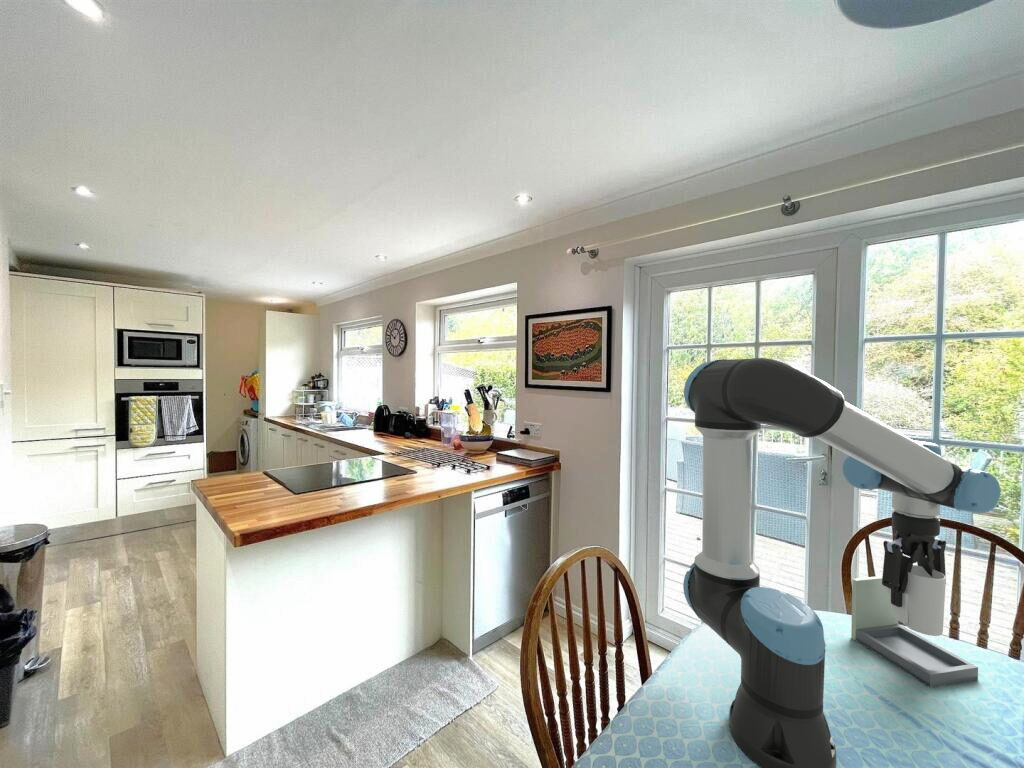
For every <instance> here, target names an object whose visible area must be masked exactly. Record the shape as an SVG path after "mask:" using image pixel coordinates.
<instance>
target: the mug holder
mask: <svg viewBox="0 0 1024 768" xmlns="http://www.w3.org/2000/svg"><path fill="white" fill-rule="evenodd" d="M882 576H883V575H877V576H867V577H857V578H852V579H851V580H852V582H851V630H850V631H851V633H850V635H851V636H850V638H851V639H853V640H854V641H856V642H857V643H859V644H861V645H862V646H863V647H865V648H867V649H868V650H870V651H872V652H873V653H874V654H876V655H877V656H879V657H881V658H883V660H886V661H887V662H889V663H890V664H892V665H894V666H896V667H897V668H898V669H900V670H901V671H903V672H904V673H905V674H908V675H909V676H911V677H912V678H914V679H915V680H917V681H918V682H920V683H921V684H924V685H925V686H926V687H928V688H929V689H930V688H935V687H936V688H937V687H942V686H948V685H954V684H961V683H967V682H973V681H978V679H979V666H977V665H975V664H973V663H971V662H969V661H968V660H965V659H963V658H962V657H960V656H958V655H957V654H955V653H952V652H951V651H949V650H947V649H945V648H943V647H942V646H940V645H938V644H936V643H934V642H932V641H931V640H929V639H926V638H925V637H923V636H921V635H920V634H918V633H916V632H915V631H913V630H911V629H909V628H908V627H906V626H905V627H904V626H903V625H901V624H899V621H898V620H896V619H895V618H893V617H892V604H891V597H890V594H889V591H888V588H887V587H885V586H883V585H882Z"/></svg>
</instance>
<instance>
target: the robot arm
mask: <svg viewBox="0 0 1024 768" xmlns="http://www.w3.org/2000/svg"><path fill="white" fill-rule="evenodd" d="M683 398H684V401H685V404H686V406H688V407H689V409H690V411H692V412H693V413H694V428H695V429H696V430H698V431H699V432H700V434H702V435H701V436H702V551H701V552H700V553H698V554H696V556H695V557H694V562H693V563H692V564H691V565H690V566H689V568H690V569H689V570H687V571H686V572H685V573H684V574H685V575H684V578H683V587H682V588H683V596H684V598H685V601H686V603H687V604H688V606H689V607H690V609H691V610H692V611H693V612H694V614H695V615H696V616H697V618H698V619H700V621H702V622H703V624H705V625H706V626H708V627H709V628H710V629H711V630H712V631H714V632H715V633H716V634H717V635H718V637H719V638H721V639H722V640H724V642H725V643H727V644H728V646H729V647H731V648H732V649H733V650H734V651H735V652H736V653H737V654H738V655H739V656H740V684H739V686H738V687H737V691H736V694H735V697H734V699H733V700H732V702H731V704H730V707H729V712H728V716H729V718H728V727H729V732H730V734H731V737H732V739H733V740H734V742H735V743H736V745H737V747H738V748H739V749H740V750H741V752H743V753H744V755H746V756H747V758H749V759H750V760H751V761H752V762H754V763H755V764H756V763H757V764H756V765H758V766H759V765H760V766H759V767H761V766H762V767H764V768H837V750H836V746H835V743H834V739H833V738H832V734H831V730H830V727H829V725H828V721H827V719H826V716H825V712H824V691H825V689H824V688H825V687H824V686H825V664H826V663H825V662H826V661H825V660H826V641H825V637H824V636H825V635H824V631H825V630H824V627H823V622H822V621H821V619H820V617H819V615H818V614H817V613H816V612H815V610H813V609H812V608H811V607H810V606H809V605H808V604H807V603H805V602H804V601H803V600H801V599H799V598H798V597H796V596H794V595H792V594H790V593H784V592H781V590H779V589H776V588H771V587H763V586H760V585H761V581H760V580H761V577H760V573H761V571H760V568H759V566H758V565H757V564H756V563H755V562H754V561H753V560H752V556H751V555H752V554H751V553H752V547H751V546H752V439H753V437H754V436H755V435H757V434H758V433H759V432H760V431H761V428H762V425H767V426H771V427H775V428H778V429H779V428H780V429H783V430H787V431H789V432H792V433H794V434H796V435H798V436H800V437H802V438H806V439H813V438H816V439H817V440H820V441H821V442H823V443H825V444H826V445H829V446H830V447H832V448H834V449H836V450H838V451H840V452H842V453H844V454H845V455H847V456H846V458H845V459H844V460H843V463H842V474H843V476H844V478H845V480H846V481H847V482H848V483H849V484H850V485H851V486H852V487H853V488H855V489H858V490H859V489H860V490H868V491H873V490H881V491H885V492H890V493H891V507H892V509H893V510H892V511H891V526H892V527H893V529H895V531H896V534H895V537H894V540H891V541H890V540H889V541H888V540H884V541H883V542H882V545H883V549H884V557H883V568H882V575H881V576H882V585H883V586H885V587H888V588H890V589H891V604H892V617H893V618H895V619H896V620H898V622H900V623H902V624H903V623H904V624H908V593H906V592H905V590H906V586H907V583H908V572H910V573H911V569H912V566H913V565H914V564H917V566H922V567H923V568H924V569H925V571H926V572H927V573H928V574H929V575H930V576H931V577H932V570H936V571H938V572H940V573H942V574H944V575H945V576H946V577H947V575H946V556H945V554H946V553H945V551H946V547H947V541H946V540H943V539H940V538H938V537H937V536H939V535H940V534H941V519H940V518H939V516H940V515H941V506H943V507H947V508H950V509H954V510H956V511H959V512H960V511H963V512H967V513H972V514H978V515H981V514H987V513H990V512H991V511H993V510H994V509H995V508H996V506H997V505H998V503H999V499H1000V498H1001V494H1002V493H1001V486H1000V482H999V480H997V478H996V476H994V475H993V474H992V473H990V472H987V471H983V470H980V469H976V468H974V467H965V466H960V465H958V464H956V463H954V462H952V461H950V460H948V459H947V458H945V457H943V456H942V447H940V446H939V444H936V443H934V442H929V441H920V440H913V439H911V438H910V437H908V436H906V435H904V434H903V433H901V432H899V431H898V430H896V429H894V428H892V427H891V426H889V425H888V424H885V423H884V422H882V421H880V420H878V419H877V418H874V417H873V416H872V415H869V414H868V413H867V412H864V411H862V410H861V409H859V408H857V407H856V406H854V405H852V404H850V403H849V402H847V401H846V399H845V396H844V395H843V393H842V392H841V391H840V390H839V389H837V388H836V387H834V386H832V385H830V384H829V383H827V382H826V381H824V380H822V379H820V378H818V377H816V376H814V375H812V374H810V373H808V372H806V371H804V370H802V369H800V368H798V367H796V366H793V365H790V364H788V363H786V362H783V361H779V360H777V359H771V358H767V357H755V358H753V357H752V358H740V359H739V358H738V359H735V358H734V359H731V358H729V359H724V358H721V359H716V360H711V361H707V362H704V363H701V364H699V365H698V366H696V367H695V368H694V369H693V370H692V371H691V372H690V374H688V377H687V378H686V380H685V383H684V388H683ZM904 624H903V625H904ZM762 767H761V768H762Z"/></svg>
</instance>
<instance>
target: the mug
mask: <svg viewBox="0 0 1024 768" xmlns="http://www.w3.org/2000/svg"><path fill="white" fill-rule="evenodd" d="M946 584H947V575H946V576H945V575H944V574H942V573H940V572H938V571H936V570H932V577H931V576H930V575H929V574H928V573H927V572H926V571H925V569H924V568H923V567H922V566H918V565H915V564H913V566H912V569H911V573H910V572H908V583H907V586H906V590H905V592H906V593H908V624H904V623H902V624H903V625H904V626H905V627H906V628H907V629H909V630H911V631H913V632H915V633H916V632H917V633H919V634H923V635H925V636H926V635H927V636H932V637H940V636H942V635H943V632H944V620H945V619H944V616H945V602H946V587H947V585H946ZM887 588H888V587H887ZM888 591H889V594H890V597H891V589H890V588H888Z"/></svg>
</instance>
